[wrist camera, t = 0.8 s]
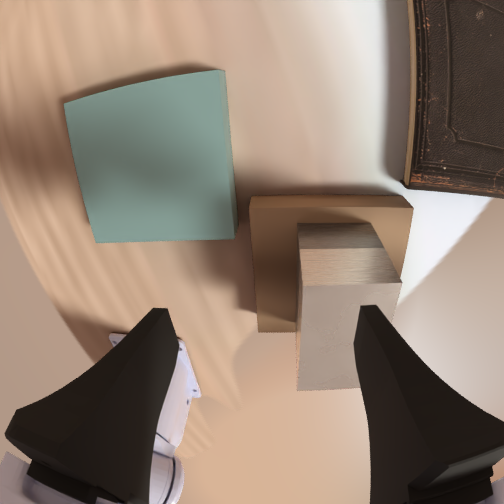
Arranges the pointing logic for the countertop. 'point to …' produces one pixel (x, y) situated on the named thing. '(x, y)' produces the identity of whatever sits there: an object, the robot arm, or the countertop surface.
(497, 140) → the hardcover book
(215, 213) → the stand
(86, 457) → the robot arm
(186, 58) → the countertop surface
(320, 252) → the block
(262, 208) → the stand
